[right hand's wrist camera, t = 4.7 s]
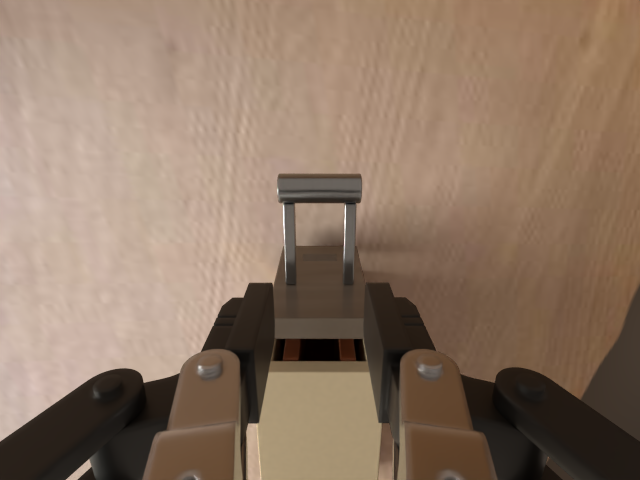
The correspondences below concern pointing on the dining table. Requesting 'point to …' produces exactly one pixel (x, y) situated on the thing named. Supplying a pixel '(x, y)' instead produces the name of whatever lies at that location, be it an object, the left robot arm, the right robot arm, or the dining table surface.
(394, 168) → the dining table surface
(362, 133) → the dining table surface
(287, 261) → the drawer
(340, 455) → the cream rectangular box
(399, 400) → the right robot arm
